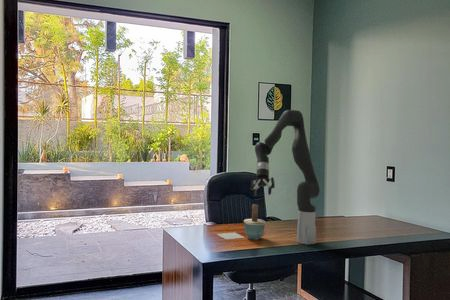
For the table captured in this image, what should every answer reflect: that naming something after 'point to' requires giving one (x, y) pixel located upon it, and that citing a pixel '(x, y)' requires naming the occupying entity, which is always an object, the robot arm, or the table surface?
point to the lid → (254, 217)
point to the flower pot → (254, 231)
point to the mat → (230, 235)
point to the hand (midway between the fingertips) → (262, 195)
